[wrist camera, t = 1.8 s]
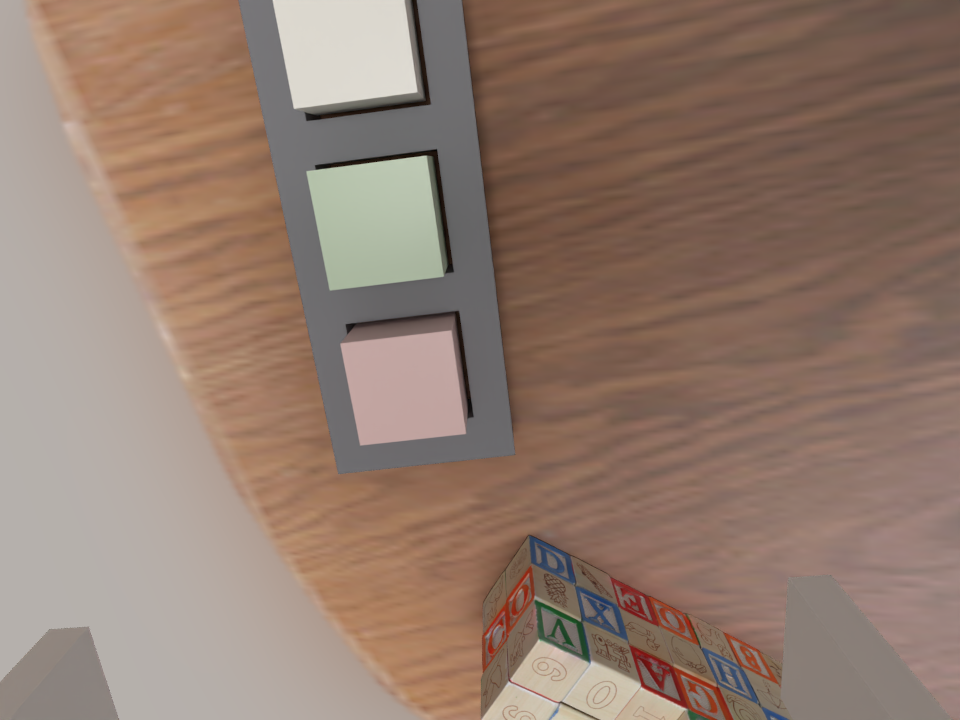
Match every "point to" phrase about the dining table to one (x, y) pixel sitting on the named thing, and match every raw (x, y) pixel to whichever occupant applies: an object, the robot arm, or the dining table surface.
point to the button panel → (462, 288)
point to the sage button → (379, 222)
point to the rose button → (406, 378)
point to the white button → (350, 54)
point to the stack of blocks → (610, 652)
